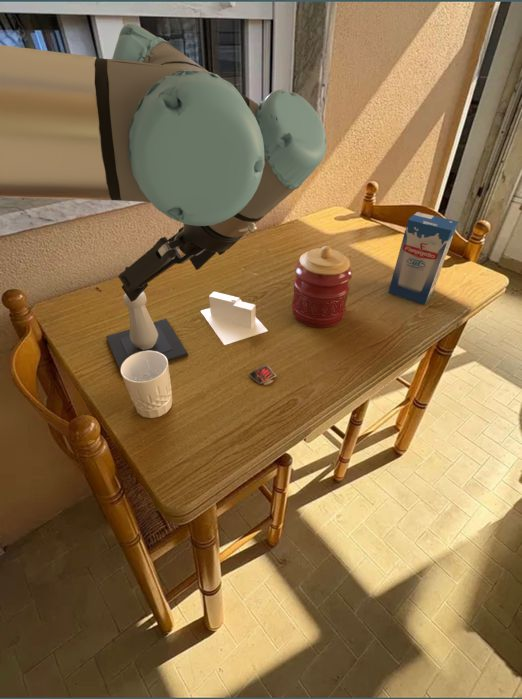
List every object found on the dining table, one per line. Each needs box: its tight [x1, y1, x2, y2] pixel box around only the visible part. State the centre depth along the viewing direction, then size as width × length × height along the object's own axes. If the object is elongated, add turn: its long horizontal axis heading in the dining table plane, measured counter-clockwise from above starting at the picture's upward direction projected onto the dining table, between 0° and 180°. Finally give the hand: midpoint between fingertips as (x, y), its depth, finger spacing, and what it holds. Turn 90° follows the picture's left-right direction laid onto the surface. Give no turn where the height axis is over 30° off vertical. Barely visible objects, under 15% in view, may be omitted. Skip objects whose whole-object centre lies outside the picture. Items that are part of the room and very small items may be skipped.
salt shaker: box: [123, 291, 158, 350], centre depth 79 cm, size 6×6×13 cm
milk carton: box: [387, 211, 459, 306], centre depth 95 cm, size 10×6×20 cm, turn 54°
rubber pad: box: [105, 318, 189, 374], centre depth 83 cm, size 14×14×1 cm
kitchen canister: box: [291, 245, 353, 328], centre depth 88 cm, size 13×13×18 cm
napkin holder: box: [200, 291, 269, 346], centre depth 89 cm, size 15×11×6 cm
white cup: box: [120, 351, 173, 419], centre depth 68 cm, size 8×8×10 cm
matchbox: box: [249, 364, 277, 386], centre depth 77 cm, size 5×5×1 cm
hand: (163, 277), depth 63 cm, fingers open, 13 cm apart
